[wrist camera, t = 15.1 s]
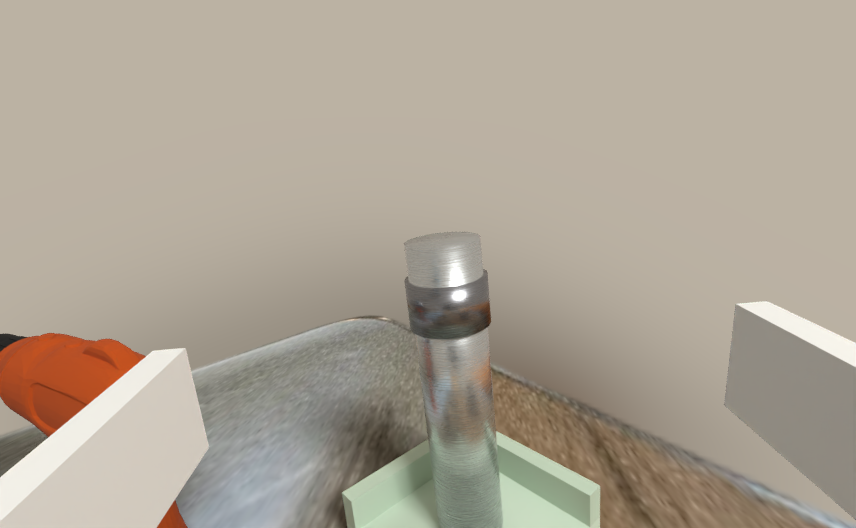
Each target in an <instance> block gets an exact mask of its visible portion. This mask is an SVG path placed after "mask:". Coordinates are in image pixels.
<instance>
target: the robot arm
mask: <svg viewBox="0 0 856 528" xmlns="http://www.w3.org/2000/svg"><path fill="white" fill-rule="evenodd" d="M724 405H725V406H726V407H727V408H728V409H729V410H730V411H731V412H733V413H734V414H735V415H736V416H737V417H738V418H739V419H741V420H742V421H743V422H744V423H745V424H747V426H749V427H750V428H751V429H752V430H753V431H754V432H756V433H757V434H758V435H759V436H760V437H761V438H762V439H764V440H765V441H766V442H767V443H768V444H769V445H771V446H772V447H773V448H774V449H775V450H776V451H777V452H778V453H780V454H781V455H782V456H783V457H784V458H785V459H786V460H788V461H789V462H790V463H791V464H792V465H793V466H794V467H796V468H797V469H798V470H799V471H800V472H801V473H802V474H804V475H805V476H806V477H807V478H808V479H809V480H811V481H812V482H813V483H814V484H815V485H816V486H817V487H819V488H820V489H821V490H822V491H823V492H824V493H825V494H827V495H828V496H829V497H830V498H831V499H832V500H833V501H835V502H836V503H837V504H838V505H839V506H840V507H841V508H843V509H844V510H845V511H846V512H847V513H848V514H849V515H851V516H852V517H853V518H854V519H855V520H856V343H855V342H852V341H850V340H848V339H846V338H844V337H842V336H840V335H838V334H835V333H833V332H831V331H829V330H827V329H825V328H823V327H821V326H818V325H816V324H814V323H812V322H810V321H808V320H806V319H804V318H801V317H799V316H797V315H795V314H793V313H791V312H789V311H787V310H785V309H783V308H780V307H778V306H776V305H774V304H772V303H770V302H768V301H767V302H754V303H741V304H736V305H735V314H734V323H733V332H732V341H731V350H730V359H729V367H728V376H727V385H726V394H725V404H724ZM208 448H209V445H208V441H207V437H206V433H205V428H204V424H203V420H202V416H201V411H200V407H199V403H198V399H197V394H196V390H195V386H194V382H193V378H192V373H191V369H190V365H189V361H188V356H187V352H186V349H185V348H181V349H168V350H156V351H152V352H151V353H150V354H149V355H147V356H146V357H145V358H144V359H143V360H141V361H140V362H139V363H138V364H136V365H135V366H134V367H133V368H132V369H130V370H129V371H128V372H127V373H126V374H124V375H123V376H122V377H121V378H120V379H118V380H117V381H116V382H115V383H114V384H112V385H111V386H110V387H109V388H108V389H106V390H105V391H104V392H103V393H101V394H100V395H99V396H98V397H97V398H95V399H94V400H93V401H92V402H91V403H89V404H88V405H87V406H86V407H85V408H83V409H82V410H81V411H80V412H79V413H77V414H76V415H75V416H74V417H73V418H71V419H70V420H69V421H68V422H67V423H65V424H64V425H63V426H62V427H60V428H59V429H58V430H57V431H56V432H54V433H53V434H52V435H51V436H50V437H48V438H47V439H46V440H45V441H44V442H42V443H41V444H40V445H39V446H38V447H36V448H35V449H34V450H33V451H32V452H30V453H29V454H28V455H27V456H25V457H24V458H23V459H22V460H21V461H19V462H18V463H17V464H16V465H15V466H13V467H12V468H11V469H10V470H9V471H7V472H6V473H5V474H4V475H3V476H1V477H0V528H157V526H158V525H159V523H160V522H161V520H162V519H163V517H164V516H165V514H166V512H167V511H168V509H169V508H170V506H171V505H172V503H173V502H174V500H175V499H176V497H177V496H178V494H179V493H180V491H181V490H182V488H183V486H184V485H185V483H186V482H187V480H188V479H189V477H190V476H191V474H192V473H193V471H194V470H195V468H196V467H197V465H198V464H199V462H200V461H201V459H202V457H203V456H204V454H205V453H206V451H207V450H208Z"/></svg>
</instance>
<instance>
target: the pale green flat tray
mask: <svg viewBox="0 0 856 528" xmlns="http://www.w3.org/2000/svg"><path fill="white" fill-rule="evenodd" d="M496 438H497V451H498V463H499V476H500V488H501V500H502V513H503V525H502V528H600V485H598V484H596V483H594V482H592V481H590V480H588V479H586V478H584V477H583V476H581V475H579V474H577V473H575V472H573V471H571V470H569V469H567V468H565V467H564V466H562V465H560V464H558V463H556V462H554V461H552V460H550V459H548V458H546V457H545V456H543V455H541V454H539V453H537V452H535V451H533V450H531V449H529V448H527V447H526V446H524V445H522V444H520V443H518V442H516V441H514V440H512V439H510V438H508V437H506V436H505V435H503V434H501V433H499V432H497V431H496ZM342 497H343V503H344V509H345V515H346V521H347V527H348V528H439V524H438V516H437V507H436V499H435V491H434V483H433V475H432V467H431V458H430V450H429V442H428V439H427V440H426V441H424V442H422V443H421V444H419V445H418V446H416V447H414V448H413V449H411V450H410V451H408V452H406V453H405V454H403V455H402V456H400V457H398V458H397V459H395V460H394V461H392V462H390V463H389V464H387V465H385V466H384V467H382V468H381V469H379V470H377V471H376V472H374V473H373V474H371V475H369V476H368V477H366V478H365V479H363V480H361V481H360V482H358V483H357V484H355V485H353V486H352V487H350V488H349V489H347V490H345V491H344V492H342Z"/></svg>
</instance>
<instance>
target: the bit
mask: <svg viewBox="0 0 856 528" xmlns="http://www.w3.org/2000/svg"><path fill="white" fill-rule="evenodd" d="M404 245H405V253H406V262H407V271H408V277H407V278H406V279H405V288H406V296H407V304H408V312H409V320H410V328H411V331H412V332H413V333H415V336H416V344H417V352H418V361H419V369H420V377H421V385H422V393H423V401H424V409H425V418H426V426H427V434H428V442H429V450H430V458H431V467H432V475H433V483H434V491H435V499H436V507H437V516H438V524H439V528H502V525H503V513H502V500H501V488H500V476H499V463H498V451H497V438H496V426H495V414H494V401H493V389H492V376H491V364H490V352H489V339H488V326H489V324H490V323H491V313H490V301H489V287H488V275H487V271H486V270H485V269H483V265H482V252H481V240H480V235H478V234H475V233H470V232H445V233H437V234H430V235H424V236H420V237H416V238H413V239H410V240H408V241H407V242H405V243H404Z"/></svg>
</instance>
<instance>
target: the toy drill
mask: <svg viewBox="0 0 856 528" xmlns="http://www.w3.org/2000/svg"><path fill="white" fill-rule="evenodd" d="M145 357H146V356H144V355H142V354H139V353H137V352H134V351H132V350H131V349H130V348H128V347H126V346H125V345H123V344H121V343H120V342H118V341H115V340H112V339H102V340H98V341H90V340H84V339H81V338H77V337H73V336H69V335H64V334H54V333H47V334H43V335H41V336H33V337H23V336H21V337H20V336H16V335H11V334H0V397H1V398H2V400H3V401H4V403H5V404H6V405H7V406H8V407H9V408H10V409H11V410H13V411H14V412H16V413H17V414H19V415H20V416H22V417H24V418H25V419H27V420H28V421H30V422H31V423H32V424H33V425H35V426H36V427H37V428H38V429H39V430H41V431H42V432H43V433H44V434H45V435H47V436H48V437H50V436H51V435H52V434H53V433H54V432H56V431H57V430H58V429H59V428H60V427H62V426H63V425H64V424H65V423H67V422H68V421H69V420H70V419H71V418H73V417H74V416H75V415H76V414H77V413H79V412H80V411H81V410H82V409H83V408H85V407H86V406H87V405H88V404H89V403H91V402H92V401H93V400H94V399H95V398H97V397H98V396H99V395H100V394H101V393H103V392H104V391H105V390H106V389H108V388H109V387H110V386H111V385H112V384H114V383H115V382H116V381H117V380H118V379H120V378H121V377H122V376H123V375H124V374H126V373H127V372H128V371H129V370H130V369H132V368H133V367H134V366H135V365H136V364H138V363H139V362H140V361H141V360H143V359H144V358H145ZM157 528H188V527H187V526H186V524H185V522H184V521H183V519H182V517H181V515H180V513H179V510H178V506H177V504H176V501H175V500H174V502H173V503H172V505H171V506H170V508H169V509H168V511H167V512H166V514H165V516H164V517H163V519H162V520H161V522H160V523H159V525H158V526H157Z"/></svg>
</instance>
